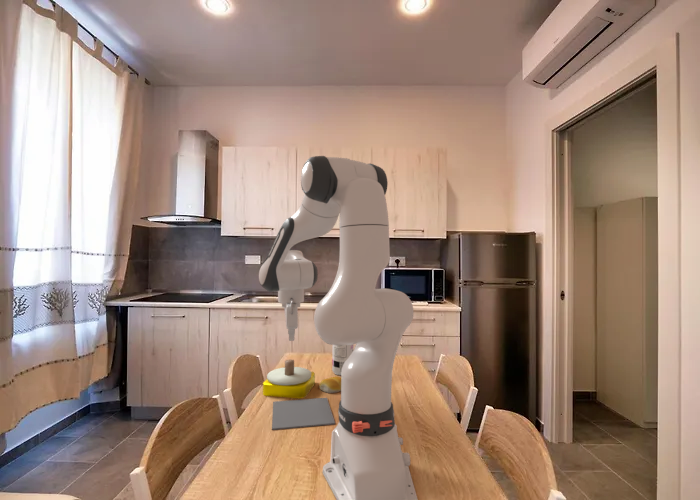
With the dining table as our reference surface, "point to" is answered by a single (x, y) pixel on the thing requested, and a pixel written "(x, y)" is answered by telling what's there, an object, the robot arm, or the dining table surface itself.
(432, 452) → the dining table surface
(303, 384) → the element tile
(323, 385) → the bread roll
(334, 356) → the supplement can
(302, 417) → the mat
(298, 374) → the lid
